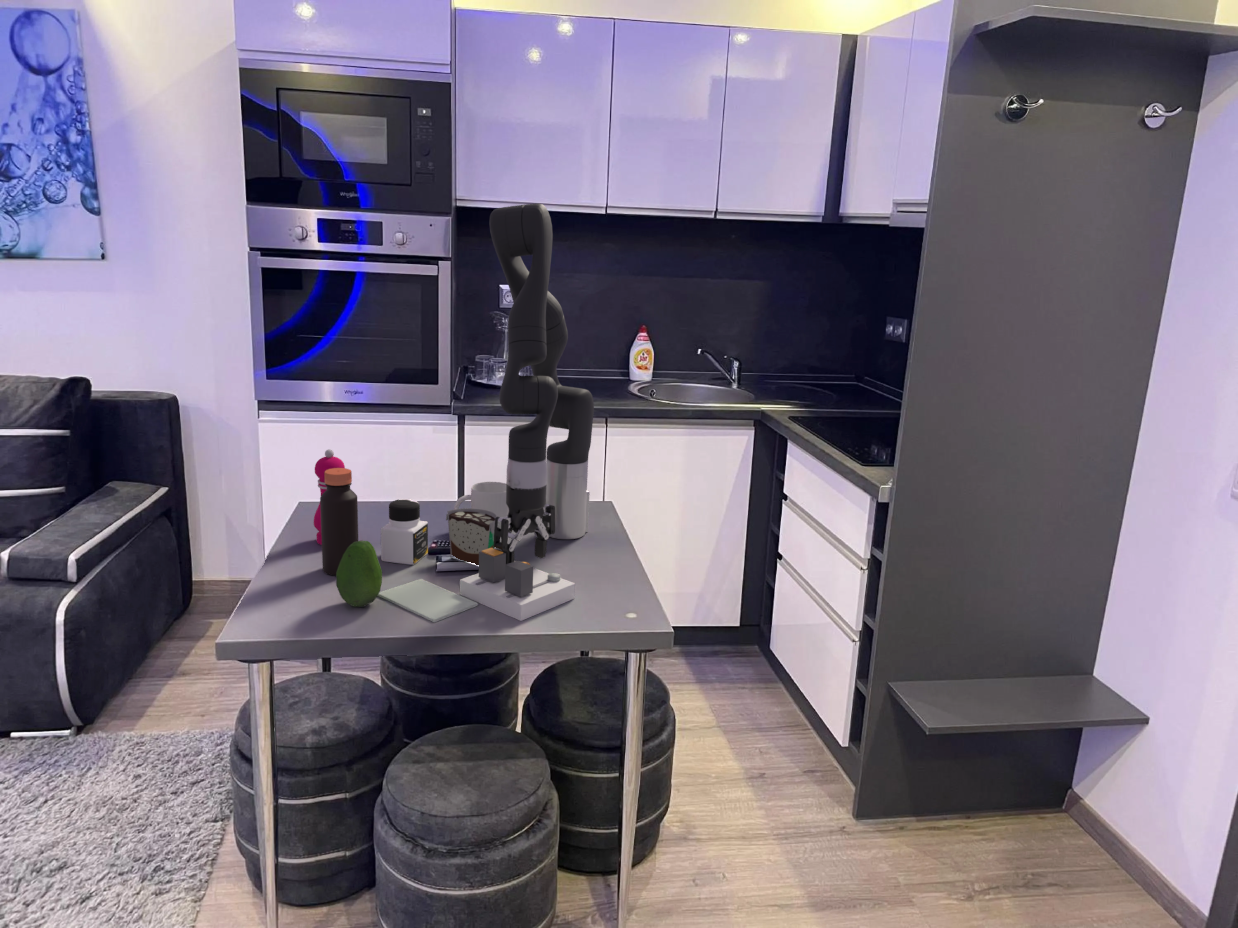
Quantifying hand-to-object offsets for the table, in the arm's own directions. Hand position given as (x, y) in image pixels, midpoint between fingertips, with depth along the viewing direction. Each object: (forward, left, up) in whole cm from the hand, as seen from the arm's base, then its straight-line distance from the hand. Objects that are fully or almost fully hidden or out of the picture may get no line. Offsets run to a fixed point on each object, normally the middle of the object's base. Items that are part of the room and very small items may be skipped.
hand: (524, 562), depth 172 cm
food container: (-2, -15, -4) cm, 16 cm away
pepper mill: (+13, -44, -4) cm, 46 cm away
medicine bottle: (+8, -26, -4) cm, 28 cm away
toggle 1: (+8, 0, -1) cm, 8 cm away
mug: (-15, -28, -4) cm, 32 cm away
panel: (+5, +4, -4) cm, 8 cm away
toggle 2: (+9, +8, -1) cm, 12 cm away
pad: (+18, -6, -4) cm, 20 cm away
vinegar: (+21, -29, -4) cm, 36 cm away
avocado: (+28, -13, -4) cm, 31 cm away
